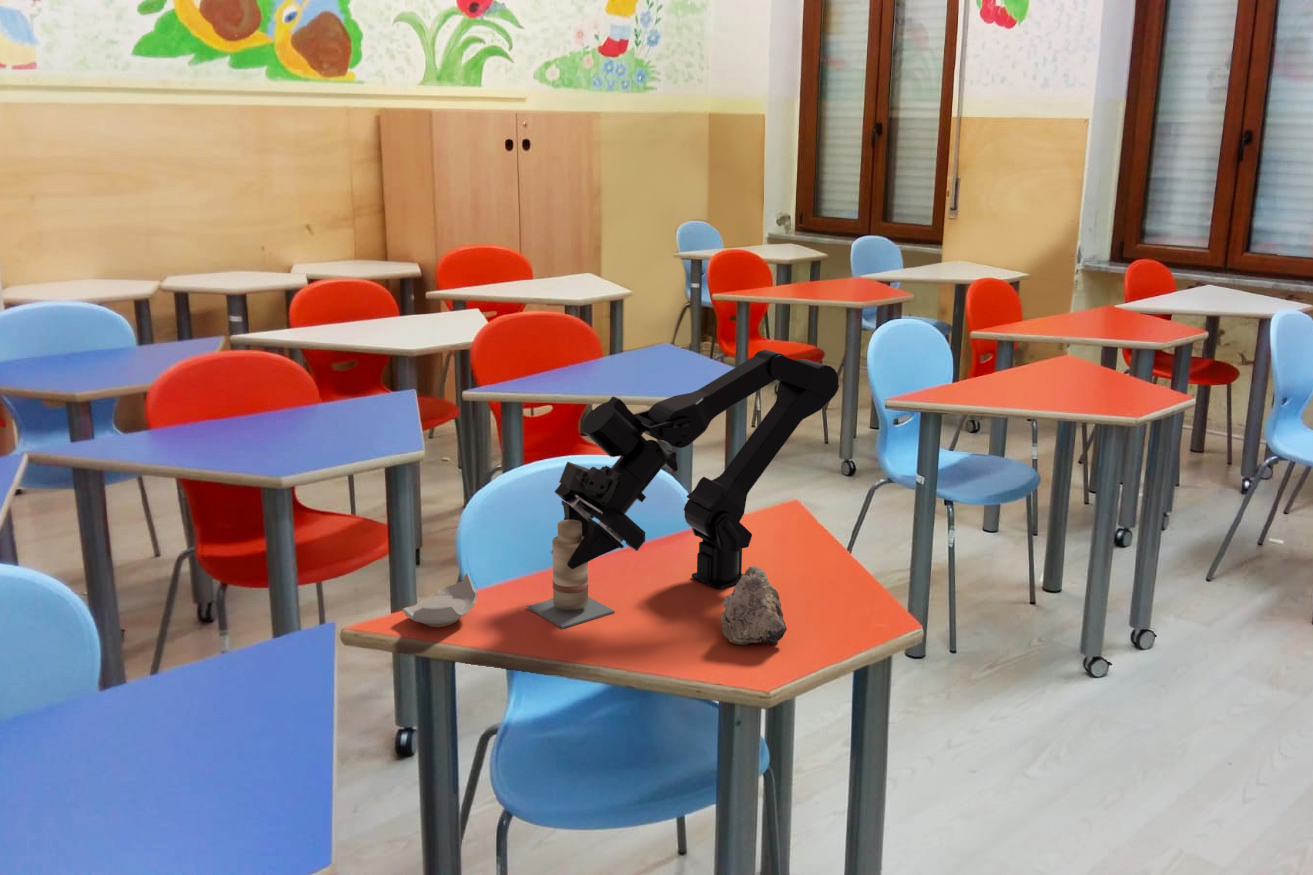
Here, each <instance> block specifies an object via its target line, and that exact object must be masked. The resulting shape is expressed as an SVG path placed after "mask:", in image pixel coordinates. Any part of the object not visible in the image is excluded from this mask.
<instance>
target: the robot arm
mask: <svg viewBox="0 0 1313 875" xmlns="http://www.w3.org/2000/svg"><path fill="white" fill-rule="evenodd" d="M774 381H778V382H779V383H778V386H777V391H776V392H777V394H776V399H775V402H774V403H773V405H772V406H771V408H770V410H768V412H767V413H766V415H765V416H764V417H763V419H762V420H761V421H760V422H759V424H758V425H757V427H756V428H755V429H754V430H753V432H752V433H751V434H750V436H749V437H748V439H747V440H746V442H745V443H744V444H743V445H742V446H741V448H740V449H739V451H738V452H737V453H736V455H735V456H734V457H733V459H732V460H731V461H730V463H729V464H728V465H727V467H725V469H724V471H723V472H722V473H721V474H720V475H718V477H715V478H713V479H712V480H711V479H710V478H708V477H706V476H702V477H701V478H700V479H699V481H698V482H697V484H696V486H695V488H694V489H693V490H692V491H691V492H690V493H688V494H687V495H686V498H687V499H688V500H687V501H686V503H685V505H684V507H683V511H684V519H685V522H686V524H687V525H688V526H690V527H691V530H692V533H693V535H694V536H695V537H698V538H700V539H702V541H699V542H698V552H697V555H696V556H697V557H696V572H693V573H691V578H693V579H695V580H696V581H699V582H701V583H704V584H706V585H708V586H711V587H712V588H714V589H718V590H721V589H725V588H727V587H731V586H733V585H734V586H735V585H736V584H737V583H738V582H739V580H740V579H741V577H742V575H744V574H745V573H742V567H743V566H742V565H743V563H742V562H743V549H746V548H749V546H750V543H751V540H752V537H753V533H751V531H750V530H748V528H746V527H745V526H744V525H743V523H741V520H742V519H743V516H744V514H745V511H746V510H745V509H746V504H747V497H748V494H749V492H750V491H751V490H752V489H753V487H754V485H756V483H757V481H758V480H760V478H761V476H762V475H763V473H764V472H765V471H766V470H767V468H768V467H769V465H770V464H771V462H772V461H773V460H774V459H775V458H776V456H777V455H778V453H779V452H780V451H781V449H782V448H783V447H784V445H785V444H786V443H787V441H788V439H789V438H790V437H791V436H792V434H793V433H794V432H795V430H797V428H798V426H799V425H800V424H801V423H802V422H803V420H805V419H807V418H808V417H810V416H813V415H814V414H816V413H818V412H819V411H822V409H823V408H825V406H826V405H828V403H829V402H830V401H831V400H833V399H834V397H835V396H836V395H837V393H838V392H839V388H840V384H839V375H838V373H837V371H836V369H835V368H834V367H832V366H830V365H827V364H823V363H819V362H817V361H813V360H810V359H805V358H800V359H795V360H794V359H792V358H790V357H787V356H785V355H784V354H782V353H780V352H776V351H774V350H770V349H762V350H759V351H757V352H756V353H754V355H753V356H752V357H751V358H749V359H747V360H746V361H743V363H741V364H738V365H737V366H735V367H734V368H733V369H730V370H729V371H727V372H726V373H724V374H722V375H720V376H719V377H717V378H715V379H714V380H712V381H710V382H709V383H706V384H705V385H704V386H702V387H700V388H699V389H696V390H695V391H692V392H688V393H683V394H676V395H674V396H672V397H671V396H670V397H668V398H665V399H662V400H661V401H658V402H656V403H654V404H653V405H652V406H650V408H649V409H648V410H643V411H640V412H637V413H633V412H632V411H631V410H630V409H629V408H628V406H627V405H626V403H625V402H623V401H622V399H620V398H618V397H616V396H611V398H610V399H609V400H608V401H606V402H603V403H601V404H599V405H598V406H596V407H595V408H594V409H591V410H590V411H589V412H588V414H586V416H585V418H584V419H583V422H582V427H581V429H582V431H583V433H584V434H585V435H586V436H587V437H588V438H589V439H590V440H592V441H593V443H595V445H597V446H598V447H599V448H600V449H601V450H603V452H604V453H606V455H608V456H609V457H610V458H611V457H612V458H616V457H619V458H618V459H617V460H616V461H615V463H614V464H613V465H612V466H611V467H610V466H608V465H604V466H602V467H601V468H597V467H595V466H591V467H590V468H588V467H585V466H582V465H579V464H576V463H573V462H570V461H567V462H566V464H565V466H564V469H563V472H562V474H561V476H560V479H559V483H560V484H559V485H558V487H557V488H556V489H555V491H554V493H555V494H556V495H557V496H558V497H559V498H561V499H562V500H561V505H562V508H563V513H564V514H563V515H564V518H563V520H578V521H580V522H581V523H582V536H584V538H583V540H582V541H581V543H580V544H579V546H578V547H577V549H576V550H575V552H574V553H573V555H572V556H571V558H570V560H569V562H568V563H567V565H568V566H569V567H570V568H571V569H574V568H576V567H578V566H580V565H582V564H584V563H586V562H588V563H589V562H590V561H592V560H594V559H597V558H598V557H600V556H603V555H606V554H607V553H610V552H612V551H615V550H617V549H621V550H622V549H623V548H624V547H625V546H624V545H623V544H622V542H623V541H624V542H625V545H627V546H628V547H630V548H631V549H632V550H634V551H635V552H638V551H639V550H640V549H641V547H642V546H643V545H644V544H645V542H646V531H644V529H642V527H640V526H639V525H638V524H637V523H636V522H635V521H633V520H632V519H631V517H629V516H628V515H627V512H629V509H631V507H632V506H633V505H634V504H635V502H636V501H638V502H640V503H643V502H644V500H645V499H646V498H647V496H646V495H645V494H644V491H645V490H646V489H647V487H648V486H649V485H650V484H651V482H652V481H653V480H654V479H655V477H657V475H658V474H659V472H660V471H661V470H662V469H663V468H666V469H668V470H671V471H673V472H678V470H679V469H678V467H679V466H678V463H677V462H678V461H677V452H676V451H673V450H672V449H665V448H664V447H663V446H662V445H661V444H660V443H659V442H657V441H656V440H658V441H661V442H663V443H666V444H667V445H670V446H671V447H674V448H679V449H681V448H685V447H688V446H690V445H691V444H692V443H694V441H696V440H697V439H698V438H699V437H700V436H701V435H703V434H704V433H705V432H706V431H707V429H708V427H709V425H710V424H711V422H712V421H713V420H714V419H715V418H716V417H717V416H719V415H720V414H722V413H724V412H726V411H727V410H729V409H730V408H732V407H734V406H735V405H737V404H739V403H740V402H741V401H744V400H745V399H746V398H749V397H750V396H751V395H753V394H754V393H756V392H758V391H760V390H761V389H763V388H765V387H766V386H768V385H769V384H771V383H773V382H774ZM643 434H645V435H647V436H649V437H651V438H653V439H646V438H645V437H644V436H643ZM654 439H656V440H654ZM594 518H595V519H597V521H599V522H597V521H595V520H594Z"/></svg>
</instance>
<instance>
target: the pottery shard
mask: <svg viewBox="0 0 1313 875" xmlns="http://www.w3.org/2000/svg"><path fill="white" fill-rule="evenodd" d="M477 598H478V593H477V592H476V590H475V588H474V585H473V582H472V580H471V577H470V575H469V573H465V575H464V576H463V580H462V581H460V582H456V583H454V584H451V585H447V586H445V587H444V588H442V589H440V590H437V591H436V593H434V594H432V596H430V597H427V598H426V599H423V600H422V601H421V600H420V602H418V603H416V604H414V605H413V606H407V607H403V608H402V612H403V614H405V616H406V617H408V618H409V619H411V620H413V621H414V622H417V623H421V624H424V625H425V626H429V627H431V628H432V627H433V628H443V627H448V626H451V625H452V624H454V623H457V622H458V620H459V619H460V618H462V617H464V616H465V615H467V614H468V613H469V611H471V610H472V609H473V608H474V607H475V605H476V602H477Z"/></svg>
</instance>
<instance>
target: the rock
mask: <svg viewBox="0 0 1313 875" xmlns="http://www.w3.org/2000/svg"><path fill="white" fill-rule="evenodd" d="M743 574H744V575H742V577H741V579H740V580H739V582H738V583H737V584H735V585H734V588H733V591H732V593H730V594H728V595H727V596H726V597H725V598H724V601H723V603H724V605H723V608H724V612H722V613H721V616H720V620H721V624H722V625H721V631H722V634H723V636H724V637H725V638H726V639H728V641H729V643H732V644H734V645H743V646H747V645H750V644H753V643H755V644H757V643H760V644H763V643H765V644H768V645H775V644H777V643H778V642H779V641H780V640H782V638H784V635H785V633H786V631H787V630H788V629H787V625H786V623H785V620H784V614H783V610H782V603H781V601H780V595H779V591H778V590H777V588H776V587H773V586H772V585H771V583H770V581H769V580H768V579H769V578H768V577H767V574H766V571H765V570H763V569H762V568H760V567H758V566H756V565H752V566H751V565H750V566H749V567H748V568H747V569H746V570H745V572H744V573H743Z"/></svg>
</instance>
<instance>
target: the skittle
mask: <svg viewBox="0 0 1313 875" xmlns="http://www.w3.org/2000/svg"><path fill="white" fill-rule="evenodd" d="M583 538H584V536H582V523H581V522H580V521H578V520H564V519H563V520H560V521H559V522H557V536H555V537H554V538H552V539H551V540H552V541H551V543H552V544H551V545H552V546H551V547H552V550H551V554H552V597H553V598H552V599H553V604H554V606H556V607H557V608H560V609H565V610H575V609H580V608H583V607H585V606H587V605H588V597H589V561H588V562H586V563H584V564H582V565H580V566H578V567H576V568H574V569H571V568H570V567H569V566H568V565H567V563H568V562H569V560H570V558H571V556H572V555H573V553H574V552H575V550H576V549H577V547H578V546H579V544H580V543H581V541H582V540H583Z"/></svg>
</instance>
